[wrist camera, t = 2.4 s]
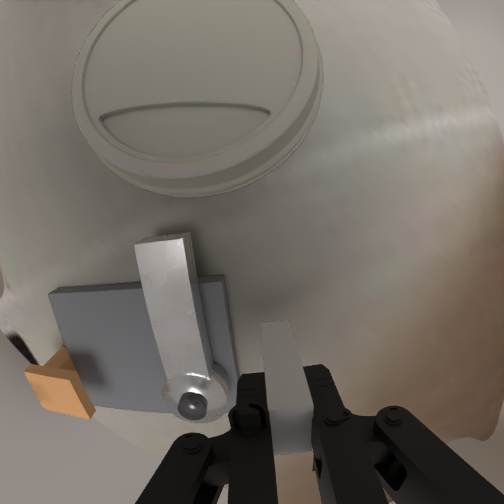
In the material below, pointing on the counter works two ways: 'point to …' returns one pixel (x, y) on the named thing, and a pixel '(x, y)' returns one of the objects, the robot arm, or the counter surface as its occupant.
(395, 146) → the counter surface
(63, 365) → the block
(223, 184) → the coffee cup
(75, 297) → the board
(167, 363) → the link
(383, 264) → the counter surface
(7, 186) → the counter surface
